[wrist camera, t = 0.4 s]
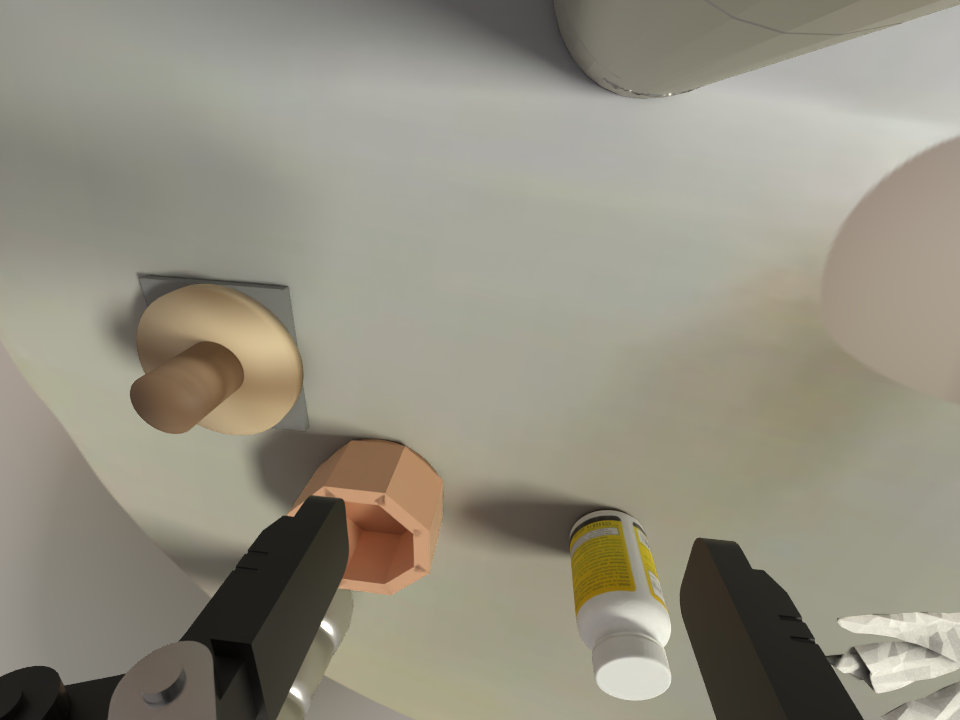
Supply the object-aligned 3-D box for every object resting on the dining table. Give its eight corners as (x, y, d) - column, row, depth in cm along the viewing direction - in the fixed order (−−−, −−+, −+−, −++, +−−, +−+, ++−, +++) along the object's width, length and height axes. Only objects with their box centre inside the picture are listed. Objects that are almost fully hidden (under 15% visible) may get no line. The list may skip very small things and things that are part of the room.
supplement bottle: (555, 545, 34) (563, 687, 25) (591, 496, 31) (613, 634, 23) (620, 570, 34) (650, 719, 25) (660, 524, 32) (708, 670, 23)
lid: (131, 277, 27) (40, 308, 22) (291, 290, 26) (234, 325, 21) (174, 417, 31) (106, 469, 26) (312, 431, 31) (269, 488, 26)
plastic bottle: (273, 582, 39) (55, 952, 21) (315, 546, 37) (106, 933, 19) (332, 620, 41) (175, 997, 23) (377, 588, 38) (238, 985, 20)
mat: (146, 275, 28) (139, 278, 27) (288, 286, 27) (283, 289, 26) (186, 413, 32) (180, 418, 31) (309, 426, 31) (305, 431, 31)
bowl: (316, 433, 31) (280, 481, 27) (444, 446, 31) (429, 498, 26) (329, 527, 35) (300, 583, 31) (443, 540, 35) (429, 600, 30)
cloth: (1135, 689, 35) (1175, 725, 33) (844, 760, 43) (861, 793, 41) (1037, 531, 30) (1076, 562, 27) (727, 646, 38) (739, 677, 36)
